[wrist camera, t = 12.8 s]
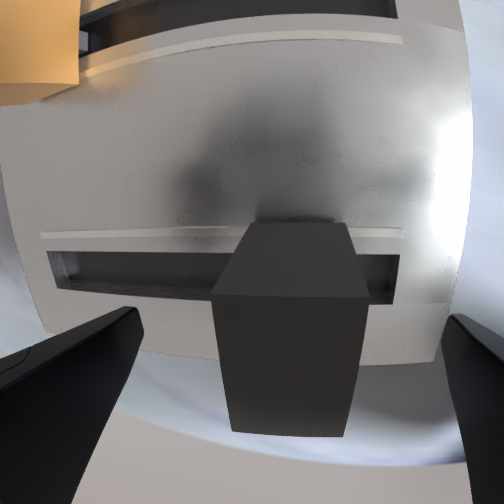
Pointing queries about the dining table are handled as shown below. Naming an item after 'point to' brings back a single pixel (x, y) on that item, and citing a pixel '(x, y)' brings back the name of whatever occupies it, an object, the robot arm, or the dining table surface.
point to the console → (245, 160)
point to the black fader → (291, 328)
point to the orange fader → (39, 48)
